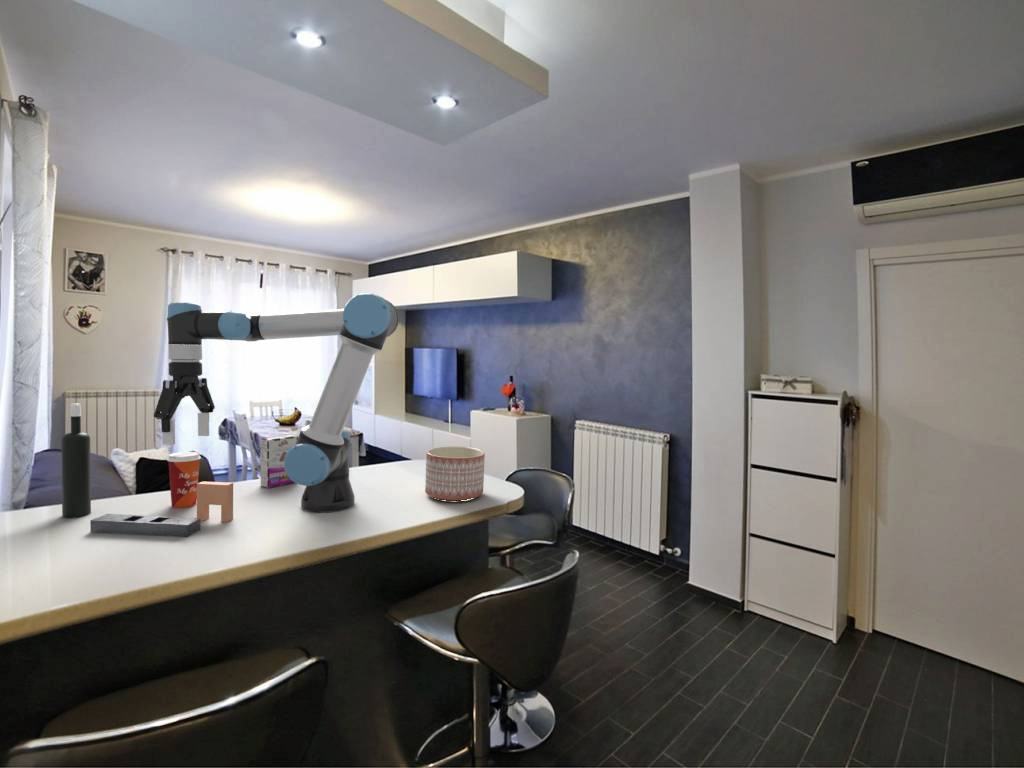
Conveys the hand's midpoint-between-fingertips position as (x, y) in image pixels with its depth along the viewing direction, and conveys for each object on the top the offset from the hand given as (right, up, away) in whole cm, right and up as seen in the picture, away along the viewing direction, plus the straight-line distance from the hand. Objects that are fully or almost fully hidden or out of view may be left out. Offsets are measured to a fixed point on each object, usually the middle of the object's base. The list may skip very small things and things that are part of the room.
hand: (187, 440), depth 133 cm
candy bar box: (+8, -20, +37) cm, 42 cm away
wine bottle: (-29, -20, -1) cm, 36 cm away
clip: (+8, -21, 0) cm, 23 cm away
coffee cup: (-8, -20, +11) cm, 24 cm away
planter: (+68, -22, +31) cm, 79 cm away
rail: (-4, -22, -10) cm, 24 cm away
